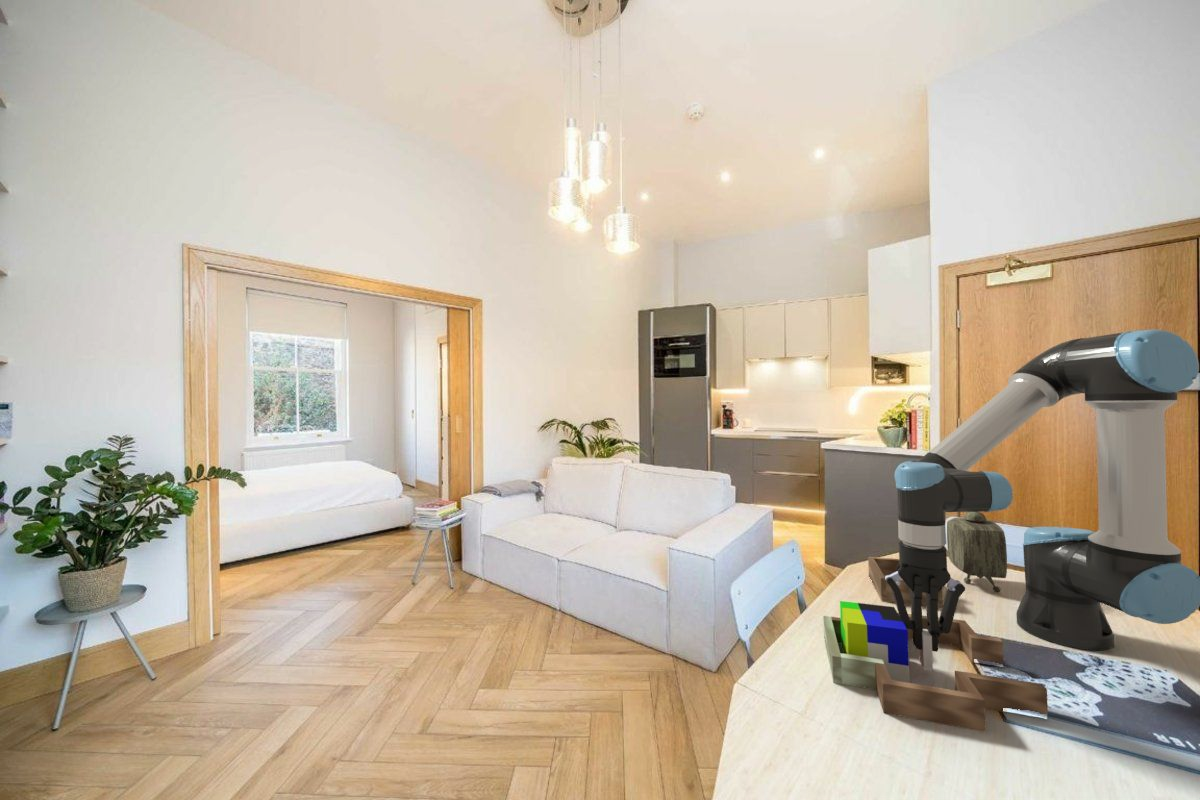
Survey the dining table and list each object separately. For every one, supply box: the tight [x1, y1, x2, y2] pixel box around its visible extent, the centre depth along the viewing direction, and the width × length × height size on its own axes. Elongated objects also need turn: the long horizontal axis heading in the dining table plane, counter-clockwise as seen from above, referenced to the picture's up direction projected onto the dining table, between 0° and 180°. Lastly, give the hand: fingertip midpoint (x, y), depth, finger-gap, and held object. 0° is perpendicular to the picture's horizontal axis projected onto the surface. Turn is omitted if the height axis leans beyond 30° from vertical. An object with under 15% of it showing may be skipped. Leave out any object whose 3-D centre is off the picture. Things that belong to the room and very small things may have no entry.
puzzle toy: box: [839, 600, 911, 683], centre depth 91 cm, size 10×10×10 cm
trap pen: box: [823, 612, 1049, 733], centre depth 88 cm, size 32×30×5 cm
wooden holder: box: [867, 556, 944, 609], centre depth 124 cm, size 13×17×6 cm
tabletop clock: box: [946, 512, 1008, 594], centre depth 128 cm, size 14×9×25 cm, turn 159°
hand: (926, 665), depth 87 cm, fingers closed
